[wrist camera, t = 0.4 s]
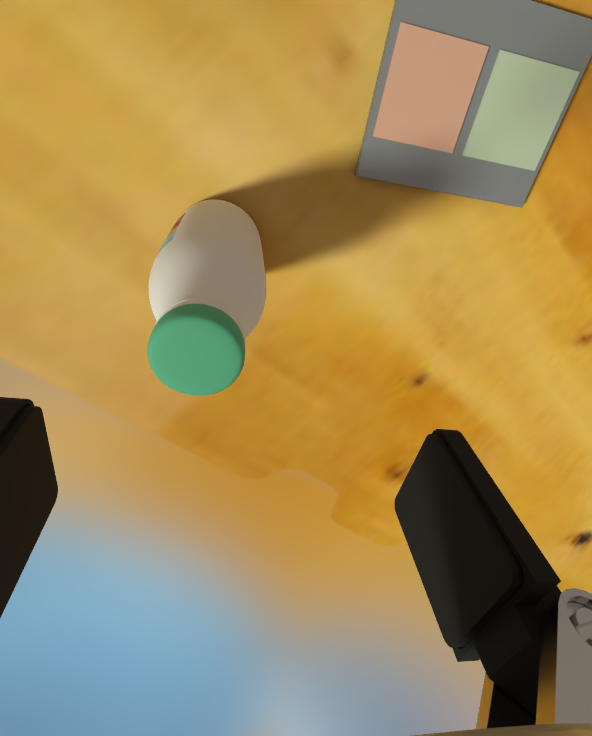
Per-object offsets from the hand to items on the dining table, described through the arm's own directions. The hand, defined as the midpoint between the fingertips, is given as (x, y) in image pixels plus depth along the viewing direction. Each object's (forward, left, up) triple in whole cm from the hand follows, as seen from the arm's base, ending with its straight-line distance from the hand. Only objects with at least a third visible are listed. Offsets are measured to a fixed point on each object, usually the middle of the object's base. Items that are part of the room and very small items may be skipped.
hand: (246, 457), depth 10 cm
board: (-11, +17, -29) cm, 35 cm away
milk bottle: (+3, -2, -29) cm, 29 cm away
